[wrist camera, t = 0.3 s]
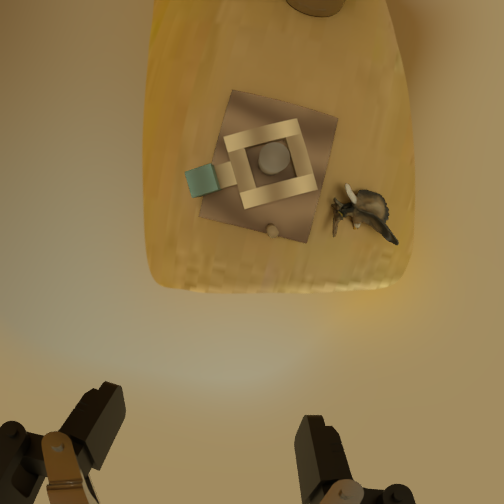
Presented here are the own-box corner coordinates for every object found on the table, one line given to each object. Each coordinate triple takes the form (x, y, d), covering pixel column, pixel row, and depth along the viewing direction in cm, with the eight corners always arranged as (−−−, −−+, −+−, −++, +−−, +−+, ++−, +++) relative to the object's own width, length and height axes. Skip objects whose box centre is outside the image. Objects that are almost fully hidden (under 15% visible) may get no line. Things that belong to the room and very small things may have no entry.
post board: (232, 92, 32) (227, 67, 24) (335, 120, 33) (357, 103, 25) (200, 215, 35) (185, 223, 27) (304, 241, 36) (319, 256, 28)
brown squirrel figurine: (328, 249, 35) (391, 255, 34) (336, 224, 29) (411, 233, 27) (329, 199, 38) (388, 206, 36) (336, 168, 31) (404, 178, 30)
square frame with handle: (294, 121, 32) (300, 112, 27) (314, 189, 34) (323, 189, 29) (186, 151, 32) (177, 146, 28) (206, 219, 34) (199, 223, 30)
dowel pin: (267, 222, 34) (269, 226, 31) (276, 224, 34) (279, 228, 31) (264, 231, 35) (266, 236, 31) (274, 233, 35) (277, 239, 31)
